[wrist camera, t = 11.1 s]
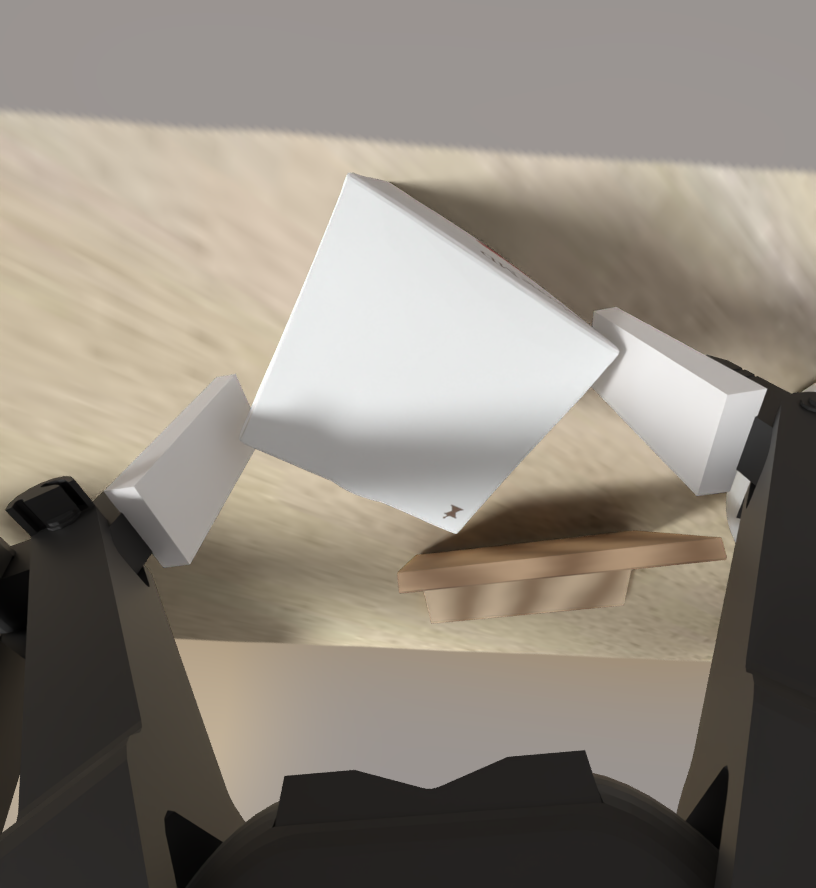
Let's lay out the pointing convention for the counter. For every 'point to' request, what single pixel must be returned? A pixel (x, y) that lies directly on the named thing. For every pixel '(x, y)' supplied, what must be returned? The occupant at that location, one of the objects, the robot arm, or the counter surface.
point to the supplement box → (418, 361)
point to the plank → (556, 559)
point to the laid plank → (528, 597)
